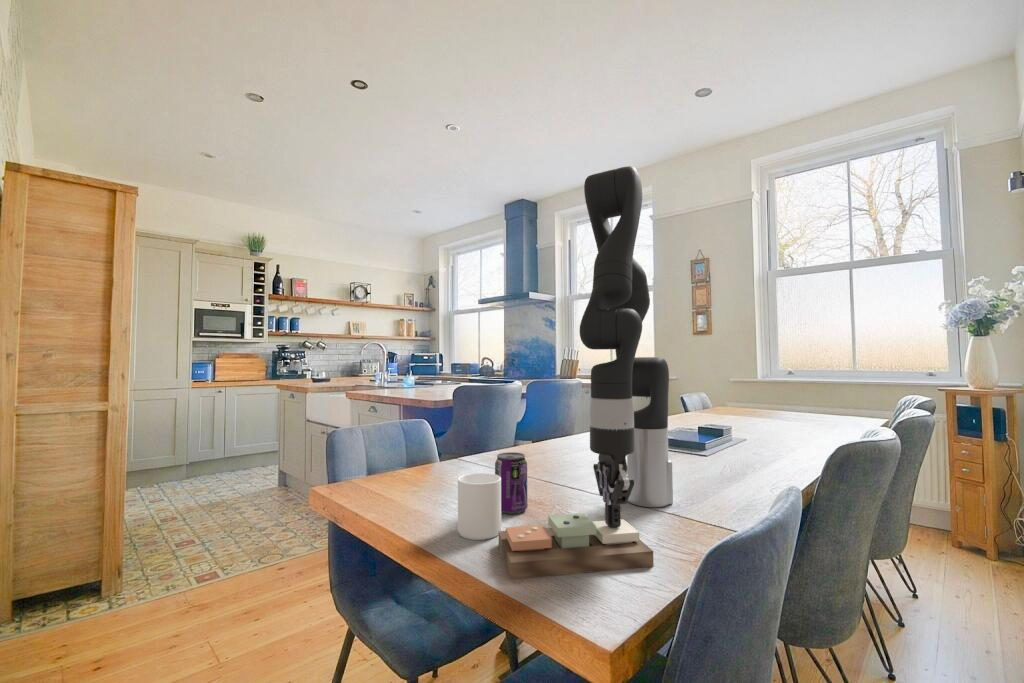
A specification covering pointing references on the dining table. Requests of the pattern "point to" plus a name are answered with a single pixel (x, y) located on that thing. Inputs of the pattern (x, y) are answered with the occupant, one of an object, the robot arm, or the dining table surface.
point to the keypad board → (574, 558)
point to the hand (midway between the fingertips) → (612, 525)
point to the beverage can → (512, 481)
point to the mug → (479, 506)
